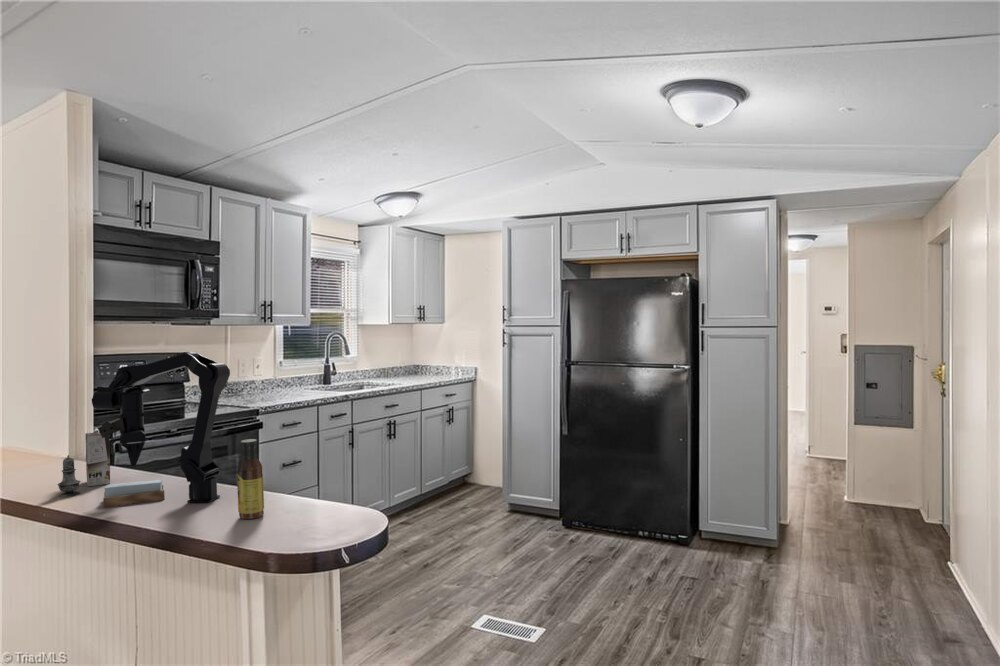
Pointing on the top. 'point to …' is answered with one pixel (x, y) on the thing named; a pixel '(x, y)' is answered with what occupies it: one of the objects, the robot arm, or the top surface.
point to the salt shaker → (68, 479)
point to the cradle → (133, 498)
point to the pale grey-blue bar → (132, 488)
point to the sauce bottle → (250, 482)
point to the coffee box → (97, 459)
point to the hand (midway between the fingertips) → (133, 463)
